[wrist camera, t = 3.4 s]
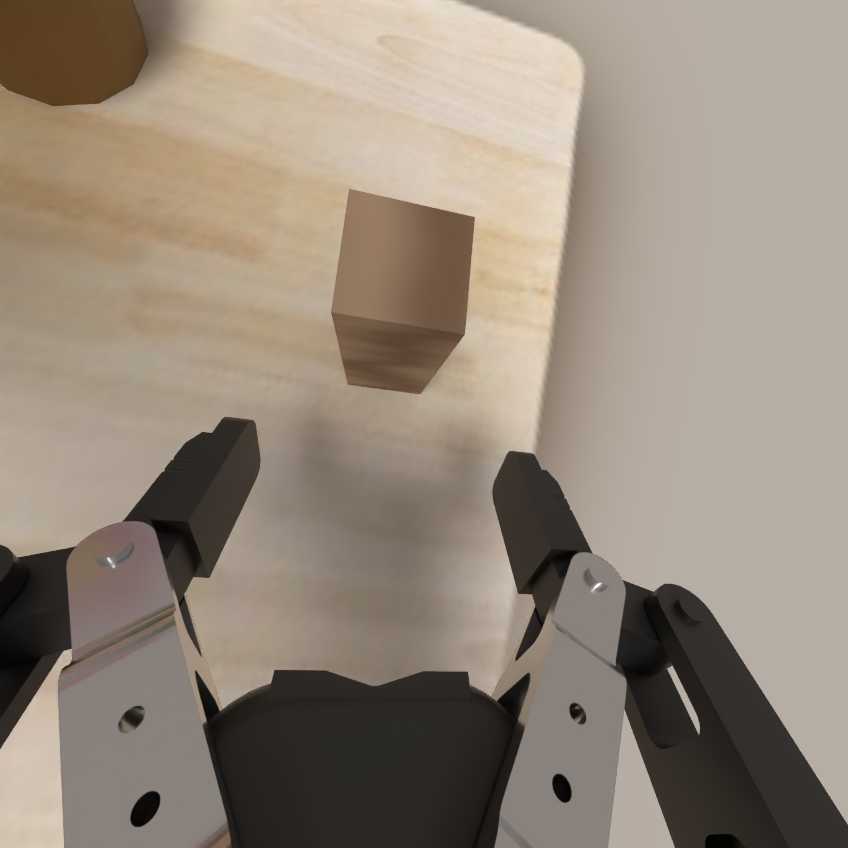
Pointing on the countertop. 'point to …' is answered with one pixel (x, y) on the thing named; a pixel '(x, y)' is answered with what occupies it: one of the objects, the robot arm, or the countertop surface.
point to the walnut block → (400, 290)
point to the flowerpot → (70, 49)
